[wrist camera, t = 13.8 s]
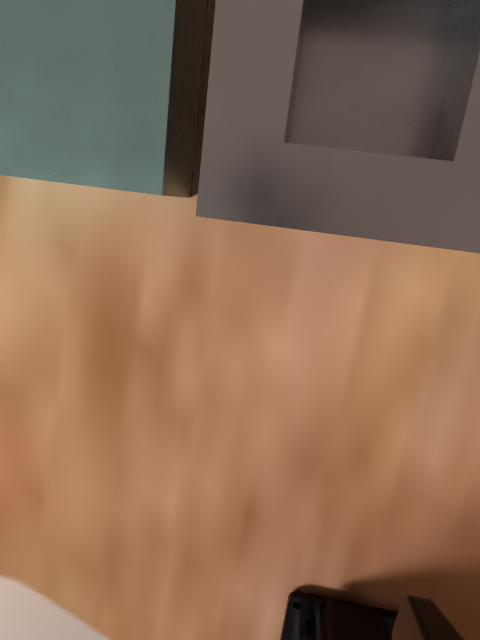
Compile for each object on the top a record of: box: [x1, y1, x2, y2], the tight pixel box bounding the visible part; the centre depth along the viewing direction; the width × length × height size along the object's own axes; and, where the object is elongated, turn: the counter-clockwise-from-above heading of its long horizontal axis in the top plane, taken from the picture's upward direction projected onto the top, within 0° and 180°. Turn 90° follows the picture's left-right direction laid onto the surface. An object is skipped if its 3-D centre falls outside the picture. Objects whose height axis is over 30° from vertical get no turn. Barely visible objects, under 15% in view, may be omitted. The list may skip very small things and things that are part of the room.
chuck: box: [0, 0, 480, 253], centre depth 15 cm, size 10×25×5 cm, turn 85°
